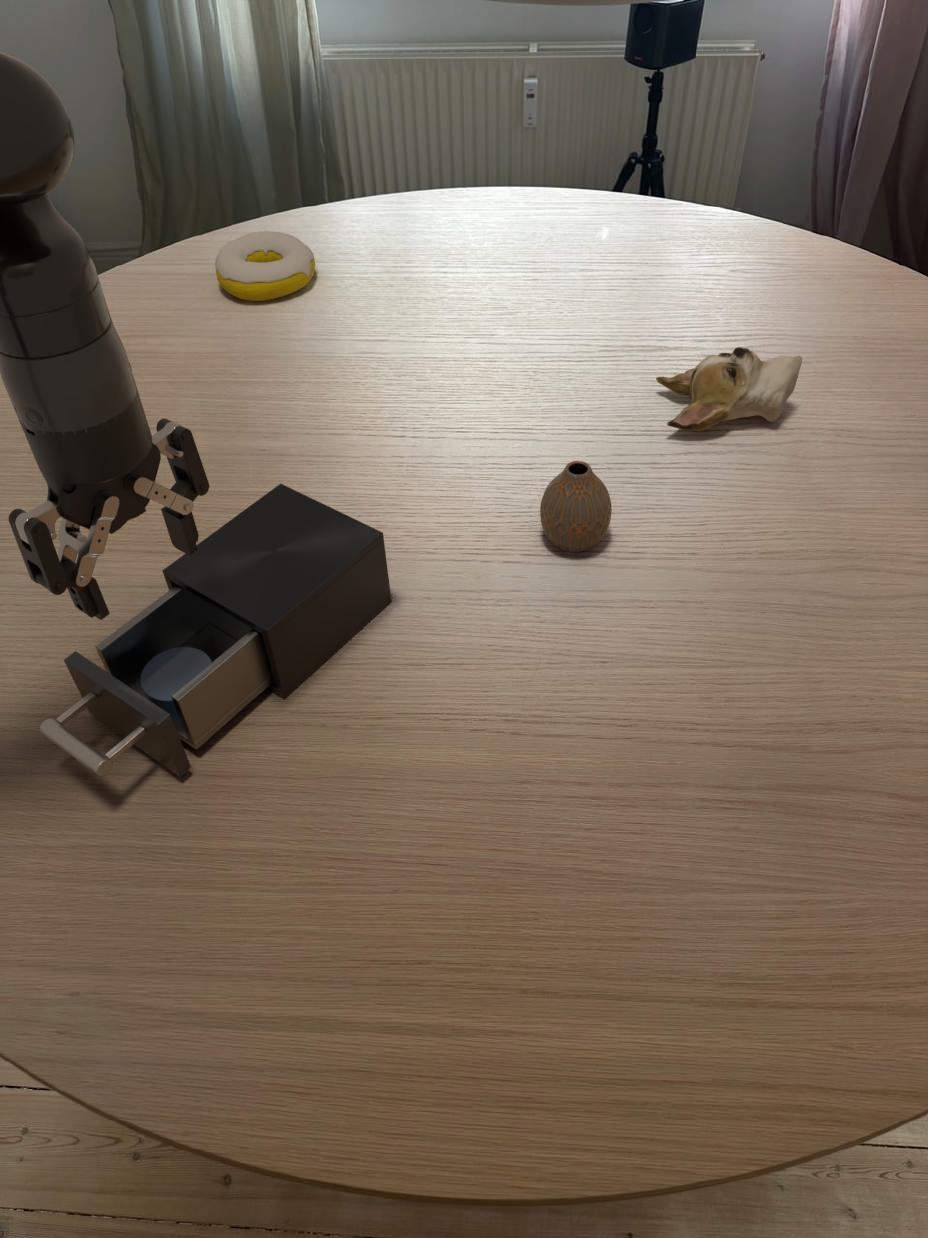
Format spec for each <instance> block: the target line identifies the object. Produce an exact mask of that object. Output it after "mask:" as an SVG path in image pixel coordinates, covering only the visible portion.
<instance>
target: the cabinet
mask: <svg viewBox="0 0 928 1238" xmlns="http://www.w3.org/2000/svg"><path fill="white" fill-rule="evenodd" d="M196 545H197V550H196V551H195V552H194V553H192V554H191V555H187V554H186V553H183V555H181V556H180V557H179V558H177V559H176V560H175V561H172V562H171V563H170V564H169V565H168V566H166V567H165V568H163V569H162V573H163V577H164V580H165V582H166V586H167V587H168V591H169V590H171V589H172V588H173V587H175V586H176V585H179V586H181V587H182V588H184V589H186V590H188V591H189V592H191V593H193V594H195V595H196V596H198V597H200V598H201V599H203V600H205V601H207V602H208V603H210V604H212V605H213V606H215V607H217V608H219V609H220V610H222V611H224V612H226V613H227V614H229V615H231V616H232V617H234V618H236V619H238V620H239V621H241V622H243V623H244V624H246V625H248V626H250V627H251V628H253V629H255V630H257V631H258V632H260V633H262V637H263V640H264V644H265V648H266V652H267V655H268V659H269V663H270V667H271V670H272V674H273V678H274V681H273V682H272V683H271V684H270V685H269V686H268V687H267V688H266V689H267V690H269V691H271V692H272V693H274V694H275V695H277V696H279V697H280V698H282V699H284V700H285V699H286V698H288V696H290V695H291V694H292V693H293V692H294V691H295V690H296V689H297V688H298V687H299V686H301V685H302V684H303V683H304V682H305V681H306V680H307V679H308V678H309V677H310V676H312V675H313V674H314V673H315V672H316V671H317V670H318V669H319V668H321V666H323V665H324V664H325V663H326V662H327V661H328V660H329V659H330V658H331V657H333V656H334V655H335V654H336V653H337V652H338V651H339V650H340V649H341V648H342V647H344V646H345V645H346V644H347V643H348V642H349V641H350V640H351V639H352V638H353V637H355V636H356V635H357V634H358V633H359V632H360V631H361V630H362V629H364V628H365V627H366V625H368V624H369V623H370V622H371V621H372V620H373V619H375V617H376V616H378V615H379V614H380V613H381V612H382V611H384V609H385V608H387V606H389V604H390V603H392V593H391V586H390V585H391V584H390V578H389V570H388V561H387V555H386V545H385V538H384V532H382V531H381V530H379V529H377V528H374V527H372V526H371V525H368V524H366V523H364V522H362V521H360V520H358V519H356V518H354V517H351V516H350V515H347V514H345V513H343V512H341V511H339V510H337V509H335V508H333V507H331V506H329V505H327V504H324V503H322V502H320V501H318V500H316V499H314V498H311V497H310V496H308V495H306V494H304V493H302V492H299V491H298V490H296V489H293V488H291V487H289V486H287V485H285V484H283V483H279V484H278V485H276V486H275V487H274V488H273V489H271V490H270V491H268V492H267V493H266V494H264V495H263V496H262V497H260V498H259V499H258V500H256V501H255V502H253V503H252V504H251V505H249V506H248V507H247V508H245V509H244V510H242V511H241V512H240V513H238V514H237V515H236V516H234V517H233V518H232V519H230V520H229V521H227V522H226V523H225V524H223V525H222V526H221V527H219V528H218V529H217V530H215V531H214V532H212V533H211V534H210V535H208V536H207V537H206V538H204V539H203V540H201V541H200V542H199V543H198V544H196Z"/></svg>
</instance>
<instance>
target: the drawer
mask: <svg viewBox="0 0 928 1238" xmlns="http://www.w3.org/2000/svg"><path fill="white" fill-rule="evenodd" d="M176 647H193V648H197V649H199V650H202V651H203V652H205V653H206V654H207V655H208V656H209V657H210V658H211V660H212V663H211V664H210V665H208V666H207V667H206V668H205V669H204V670H202V671H201V672H200V673H199V674H198V675H196V676H195V677H194V678H193V679H192V680H190V681H189V682H188V683H187V684H186V685H184V686H183V687H182V688H181V689H180V690H178V691H177V692H176V693H175V694H174V695H172V696H171V697H172V700H173V702H174V705H175V707H176V710H177V713H178V715H179V718H180V719H172V718H171V716H170V714H169V713H167V712H166V711H164V710H163V709H161V708H160V707H158V706H157V705H155V704H154V703H152V702H151V701H149V700H148V699H146V697H145V695H144V692H143V690H142V687H141V684H140V677H141V673H142V671H143V669H144V667H145V666H146V664H147V663H148V662H149V661H150V660H151V659H152V658H154V657H155V656H156V655H158V654H160V653H162V652H164V651H166V650H169V649H172V648H176ZM95 649H96V652H97V654H98V656H99V658H100V660H101V662H102V664H103V665H102V666H103V667H104V669H103V668H102V667H100V666H99V665H97V664H96V663H94V662H92V661H91V660H90V659H88V658H87V657H85V656H83V655H82V654H81V653H79V652H78V651H77V650H75V651H73V652H72V653H71V654H70V655H68V656H67V657H65V658H64V659H63V661H64V663H65V666H66V668H67V670H68V672H69V674H70V676H71V678H72V680H73V682H74V685H75V686H76V688H77V690H78V692H79V695H80V696H81V698H80V699H79V700H78V701H77V702H76V703H74V704H73V705H72V706H71V707H69V708H68V709H67V710H66V711H64V712H63V713H62V714H60V715H59V716H57V718H47V719H45V720H43V722H42V723H41V724H40V726H39V732H40V734H42V735H43V736H44V737H46V738H47V739H49V740H50V741H51V742H52V743H54V744H55V745H57V747H59V748H60V749H62V750H63V751H64V752H66V753H67V754H68V755H70V756H71V757H73V759H75V760H77V762H79V763H80V764H82V765H84V766H85V767H86V768H87V769H89V770H90V771H92V773H94V774H95V775H97V776H98V777H104V776H106V775H107V774H109V773H110V771H111V770H112V767H113V762H115V760H116V759H118V758H119V757H120V756H121V755H123V754H124V753H125V752H126V751H127V750H129V749H130V748H131V747H132V746H133V745H134V746H135V747H137V748H138V749H140V750H141V751H142V752H144V753H145V754H147V755H148V756H150V757H151V758H152V759H154V760H155V761H156V762H158V763H159V764H161V765H162V766H163V767H165V768H167V769H168V770H169V771H171V772H172V773H174V774H175V775H177V776H178V777H180V778H181V777H182V776H183V775H185V774H186V773H187V771H189V770H190V769H191V768H192V766H191V763H190V761H189V758H188V756H187V753H186V750H185V748H184V746H183V743H182V741H183V742H184V743H186V744H187V745H188V746H190V747H191V748H193V749H194V750H198V749H200V748H201V747H202V746H203V745H204V744H205V743H206V742H207V741H208V740H209V739H211V738H212V737H213V736H214V735H215V734H217V733H218V731H220V730H221V729H222V728H223V727H224V726H225V725H226V724H228V722H230V721H231V720H232V719H233V718H234V717H235V716H236V715H237V714H239V713H240V712H241V711H242V710H243V709H244V708H245V707H247V706H248V705H249V704H250V703H251V702H253V700H255V699H256V698H257V697H258V696H259V695H260V694H261V693H262V692H264V691H265V690H266V689H267V687H268V686H269V685H270V684H271V683H272V682H273V681H274V678H273V674H272V670H271V667H270V663H269V659H268V655H267V652H266V648H265V644H264V640H263V637H262V633H260V632H258V631H257V630H255V629H253V628H251V627H250V626H248V625H246V624H244V623H243V622H241V621H239V620H238V619H236V618H234V617H232V616H231V615H229V614H227V613H226V612H224V611H222V610H220V609H219V608H217V607H215V606H213V605H212V604H210V603H208V602H207V601H205V600H203V599H201V598H200V597H198V596H196V595H195V594H193V593H191V592H189V591H188V590H186V589H184V588H182V587H181V586H179V585H176V586H175V587H173V588H172V589H171V590H169V589H168V591H167V592H165V593H164V594H162V596H160V597H159V598H157V599H156V600H155V601H153V602H152V603H150V604H149V605H148V606H146V607H145V608H144V609H143V610H141V612H139V613H138V614H136V615H135V616H133V617H132V618H131V619H130V620H128V621H127V622H126V623H124V624H123V625H121V626H120V627H119V628H117V629H116V630H115V631H114V632H112V633H111V634H110V635H109V636H107V637H106V638H104V639H103V640H102V641H101V642H99V643H98V644H97V645H95ZM86 709H87V711H88V713H89V714H90V715H91V716H93V717H95V718H96V719H97V720H99V721H100V722H101V723H103V724H105V725H106V726H107V727H109V728H110V729H112V730H113V731H114V732H116V733H117V734H118V735H120V736H121V737H122V738H123V739H122V740H120V741H119V742H118V743H117V744H115V745H114V746H112V748H111V749H109V751H107V752H106V753H105V754H103V753H101V752H100V751H99V750H97V749H96V748H94V746H92V745H90V744H89V743H88V742H86V741H85V740H84V739H82V738H81V737H79V736H78V735H76V734H75V733H73V732H72V731H71V730H69V729H68V728H67V727H65V726H66V725H67V724H68V723H69V722H71V721H72V720H73V719H74V718H76V717H77V716H78V715H79V714H80V713H82V712H84V710H86ZM181 740H182V741H181Z"/></svg>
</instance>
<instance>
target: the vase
mask: <svg viewBox="0 0 928 1238" xmlns="http://www.w3.org/2000/svg"><path fill="white" fill-rule="evenodd" d="M612 511H613V510H612V500H611V495H610V493H609V491H608V488H607V486H606V484H605V483H604V482H603V481H602V480H601V478H599V476H598V475H596V474H595V473H594V470H593V469H592V467H591V465H590V464H589V463H587V462H585V461H582V460H573V461H570V462H568V463H567V464H566V465H565V467H563V470H562V471H561V472H560V473H559V474H557V475H556V476H555V477H554V478H553V479H552V480H551V481H549V483H548V484H547V486H546V488H545V489H544V492H543V495H542V498H541V501H540V506H539V516H540V517H539V518H540V524H541V528H542V529H543V532H544V534H545V536H546V538H547V539H548V540H549V541H550V542H551V543H552V544H553V545H554V546H556V547H558V548H559V549H561V550H563V551H565V552H566V551H567V552H572V553H577V552H579V553H580V552H584V551H586V550H589V549H591V548H593V547H594V546H596V545H598V543H599V542H600V541H602V539H603V538H604V537H605V535H606V534H607V531H608V529H609V527H610V524H611V519H612Z"/></svg>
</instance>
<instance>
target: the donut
mask: <svg viewBox="0 0 928 1238" xmlns="http://www.w3.org/2000/svg"><path fill="white" fill-rule="evenodd" d="M214 266H215V275H216V278H217V282H218V283H219V286H221V287H222V289H224V291H226V292H227V293H228V294H230V295H232V296H233V297H235V298H238V299H241V300H243V301H251V302H260V301H262V302H263V301H269V300H274V299H278V298H283V297H285V296H288V295H291V294H293V293H295V292H298V291H299V290H301V289H303V288H304V287H305V286H306V285H308V283H309V282H310V281H311V279H312V278H313V276H314V273H315V269H316V259H315V255H314V253H313V251H312V249H311V248H310V247H309V246H308V245H307V244H306V243H304V242H302V241H301V240H300V239H299V238H298V237H296V236H294V235H292V234H289V233H285V232H280V231H269V230H264V231H255V232H250V233H247V234H244V235H241V236H239V237H237V238H235V239H233V240H231V241H229V242H228V243H226V244H225V245H223V246H222V247H221V248H220V249H219V250H218V253H217V255H216V258H215V261H214Z"/></svg>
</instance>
